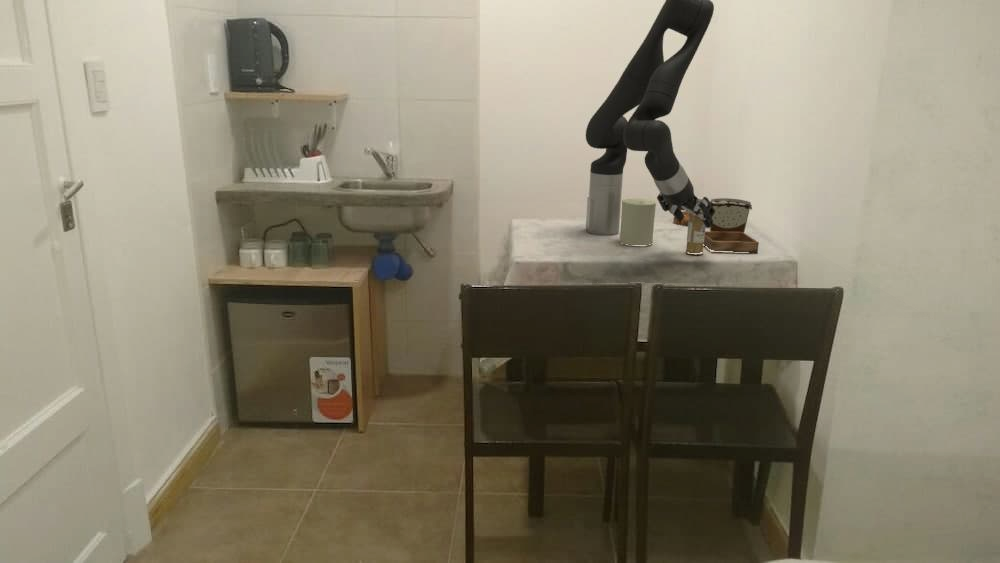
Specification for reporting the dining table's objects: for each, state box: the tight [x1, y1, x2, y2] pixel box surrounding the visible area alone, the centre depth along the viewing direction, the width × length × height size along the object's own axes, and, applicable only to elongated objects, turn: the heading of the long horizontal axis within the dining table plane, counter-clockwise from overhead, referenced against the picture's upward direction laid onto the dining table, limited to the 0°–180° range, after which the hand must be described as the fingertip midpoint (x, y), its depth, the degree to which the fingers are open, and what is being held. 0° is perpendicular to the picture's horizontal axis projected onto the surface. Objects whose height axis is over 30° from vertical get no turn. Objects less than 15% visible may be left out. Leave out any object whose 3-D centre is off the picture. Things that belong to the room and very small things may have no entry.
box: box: [704, 230, 760, 254], centre depth 198 cm, size 12×12×3 cm
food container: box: [709, 197, 753, 233], centre depth 213 cm, size 12×6×10 cm, turn 84°
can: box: [618, 198, 657, 245], centre depth 199 cm, size 9×9×12 cm
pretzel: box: [672, 210, 690, 227], centre depth 226 cm, size 12×11×4 cm
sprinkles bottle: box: [685, 204, 706, 253], centre depth 189 cm, size 5×5×13 cm
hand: (695, 222), depth 188 cm, fingers open, 8 cm apart
